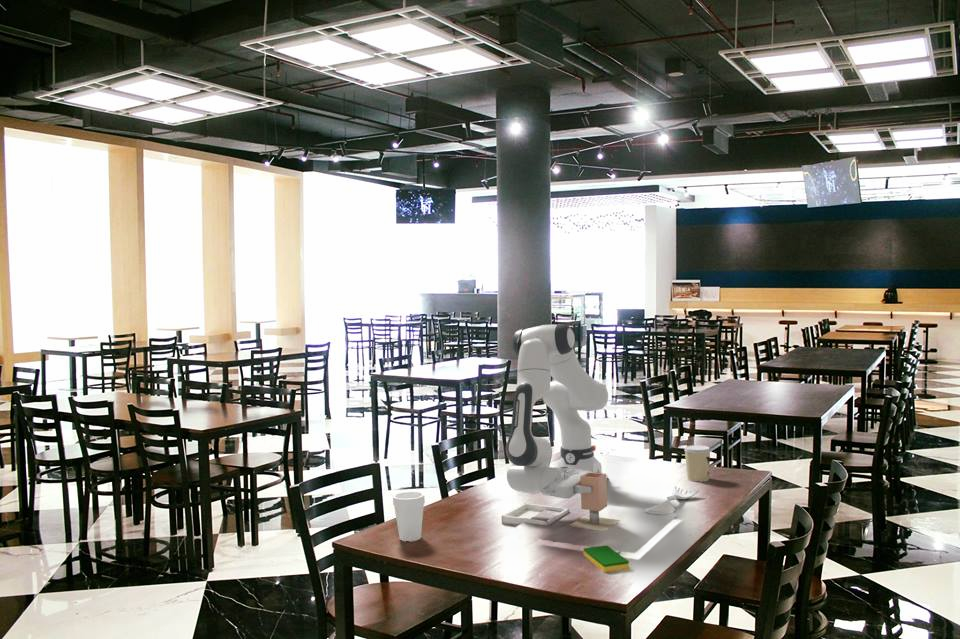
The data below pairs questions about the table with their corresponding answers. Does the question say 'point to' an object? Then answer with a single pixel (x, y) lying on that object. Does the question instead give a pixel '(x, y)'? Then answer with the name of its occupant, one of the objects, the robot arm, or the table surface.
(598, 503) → the sleeve
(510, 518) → the tray
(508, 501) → the table surface
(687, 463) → the coffee cup
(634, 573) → the table surface
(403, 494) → the foam cup
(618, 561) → the dish sponge
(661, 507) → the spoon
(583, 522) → the stand
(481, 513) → the table surface
